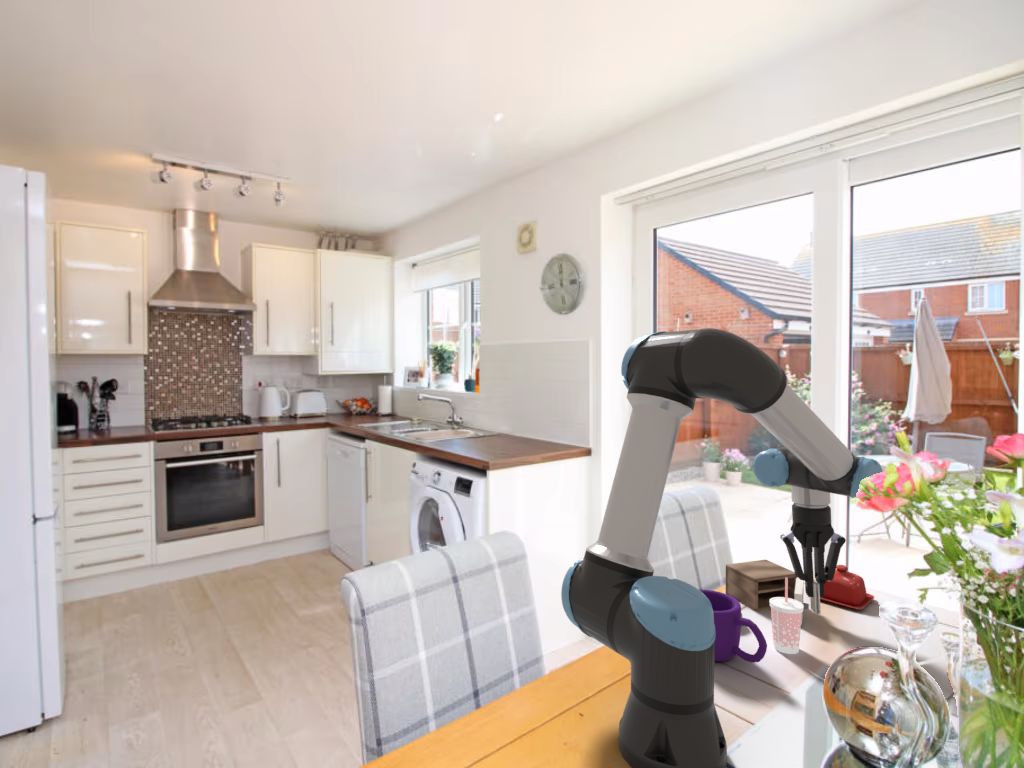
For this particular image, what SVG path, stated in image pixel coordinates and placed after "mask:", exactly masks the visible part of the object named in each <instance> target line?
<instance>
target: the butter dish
mask: <svg viewBox="0 0 1024 768" xmlns="http://www.w3.org/2000/svg"><path fill="white" fill-rule="evenodd" d="M825 582H826V584H824V597H820V601H825V602H828V603H832V604H835V605H839V606H843V607H847V608H850V609H855V610H864V609H865V608H866V607H867V606H868V605H869V604H870V602H872V601H873V600H874V599H875V596H874V595H873V594H870V593H867V589H866V584H865V580H864V578H863V577H862V576H860V575H858V574H856V573H854V572H852V571H851V572H850V571H848V567H847V566H846V565H844V564H837V566H836V570H835V574H834V578H833V580H831V581H830V580H828V581H825Z"/></svg>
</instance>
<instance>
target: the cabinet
mask: <svg viewBox="0 0 1024 768" xmlns="http://www.w3.org/2000/svg"><path fill="white" fill-rule="evenodd" d="M785 577H787V578H788V598H791V599H794V593H795V584H796V578H798V577H797V576H796V574H795V571H794V570H790V569H788V568H786V567H784V566H782V565H780V564H776V563H774V562H772V561H771V560H768V559H761V560H751V561H743V562H737V563H736V562H735V563H730V564H729V563H728V564H727V563H726V564H725V594H727V595H730V596H732V597H734V598H735V599H737V600H738V601H739V603H740V604H741V605H743V606H745V607H747V609H750V610H752V611H753V612H755V611H756V612H760V611H768V610H771V606H770V603H769V601H770V599H771V598H773V597H785Z"/></svg>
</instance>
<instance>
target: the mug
mask: <svg viewBox="0 0 1024 768" xmlns="http://www.w3.org/2000/svg"><path fill="white" fill-rule="evenodd" d="M699 590H700V591H701V592H702V593H703V594H704V595H705V596H706V597H707V598H708V599H709V601H710V603H711V605H712V609H713V613H714V625H715V631H716V637H715V656H714V662H725V661H729V660H731V659H733V658H734V657H736V656H737V657H738V658H740V659H742V660H743V661H746V662H749V663H750V664H751V663H760V662H761V661H763V660H762V659H764V657H765V655H766V653H767V649H768V643H767V641H766V638H765V635H764V634H763V632H762V631H761V629H760V628H759V626H758V625H757V624H756V622H754V621H752V620H751V619H750V618H747V617H742V618H741V613H742V606H741V605H742V604H741V603H740V602H739V601H738V600H737V599H735V598H734V597H732V596H730V595H727V594H726V593H724V592H722V591H721V592H720V591H716V590H711V589H710V590H709V589H699ZM741 626H744V627H747V628H749V630H751V632H752V634H754V637H755V638H756V641H757V643H758V648H757V650H756V652H755V653H754V654H752V653H749V652H746V651H744V650H742V649H741V648H740V641H741V632H742V631H741V630H742V629H741V628H742V627H741Z"/></svg>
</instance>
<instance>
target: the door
mask: <svg viewBox="0 0 1024 768" xmlns="http://www.w3.org/2000/svg"><path fill="white" fill-rule="evenodd" d="M804 585H805V581H804V580H800V579H799V578H798V577H797V578H796V584H795V593H794V600H797V601H799V602H801V603H802V604H803V605H804V608H803V610H809V608H810V607H809V606H810V605H809V603H807V602H804V588H805V586H804ZM803 617H804V611H803V612H802V616H801V626H802V625H803Z"/></svg>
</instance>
